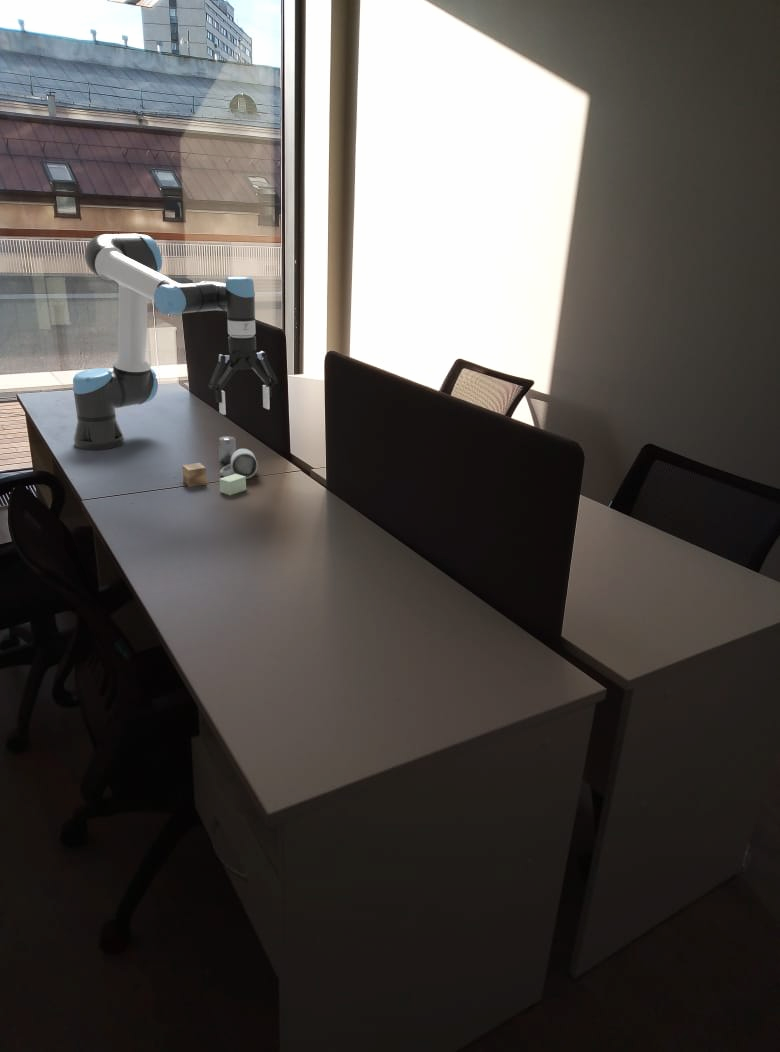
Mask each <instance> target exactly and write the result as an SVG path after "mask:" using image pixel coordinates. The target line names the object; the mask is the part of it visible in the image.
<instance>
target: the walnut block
mask: <svg viewBox="0 0 780 1052" xmlns="http://www.w3.org/2000/svg"><path fill="white" fill-rule="evenodd" d="M181 467H182V480H183V483H184V484H185V485H187V486H188V487H189V488H192V487H198V486H203V485H207V484H208V483H207V468H206V466H205V465H203V464H202V463H201V462H196V463H190V464H182V466H181Z"/></svg>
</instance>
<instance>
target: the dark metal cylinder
mask: <svg viewBox="0 0 780 1052" xmlns="http://www.w3.org/2000/svg"><path fill="white" fill-rule="evenodd" d="M236 445H237V444H236V438H235V437H234V436H229V435H228V436H220V437H219V438H218V453H219V461H220V463H222V464H223V463H224V464H231V457H232V455H233V453H234V452H235V451H236V450H237V448H236V447H237V446H236Z"/></svg>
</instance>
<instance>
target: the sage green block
mask: <svg viewBox="0 0 780 1052" xmlns="http://www.w3.org/2000/svg"><path fill="white" fill-rule="evenodd" d="M244 491H247V480H246V477H245V476H242V475H239V474H231V475H229V476H222V477H221V478H219V492H220V493H221V494H225V495H227V496H233V495H235V494H237V493H241V492H244Z"/></svg>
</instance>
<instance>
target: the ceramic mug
mask: <svg viewBox="0 0 780 1052" xmlns="http://www.w3.org/2000/svg"><path fill="white" fill-rule="evenodd" d="M258 469H259V464H258V460H257V459H256V455H255V454H254V453H253V452H252V451H251V450H249V449H248V448H239V449H236V451H235V452H234V453H233V455H232V457H231V463H228V464H227V465H225V466H223V467H222V468H221V469H220V470H219V471H220V472H219V473H220V474H221V476H222V477H226V476H230V475H233V474H239V475H242V476H245V477H246V479H250V478H253V476H255V475H256V473H257V472H258Z"/></svg>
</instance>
